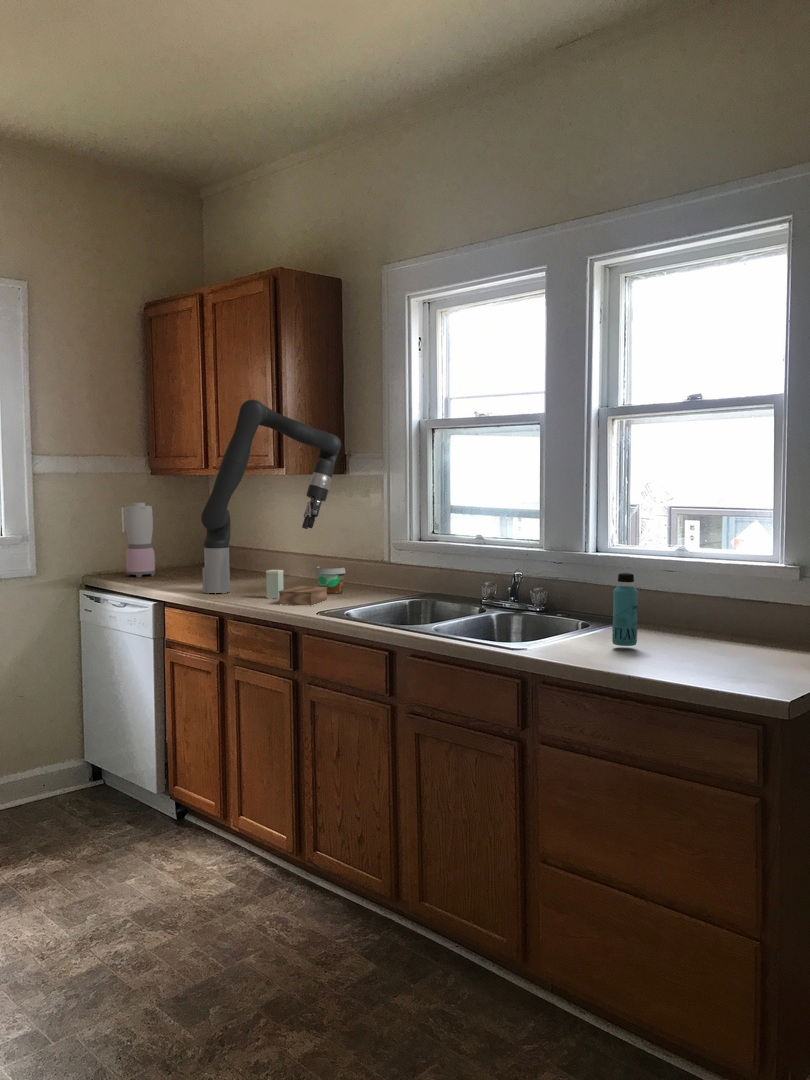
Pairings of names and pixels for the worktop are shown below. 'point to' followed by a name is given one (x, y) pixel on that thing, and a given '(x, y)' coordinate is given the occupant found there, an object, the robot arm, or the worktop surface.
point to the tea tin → (274, 583)
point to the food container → (331, 579)
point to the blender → (139, 540)
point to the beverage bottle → (625, 612)
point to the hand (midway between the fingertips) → (307, 528)
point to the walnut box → (302, 595)
